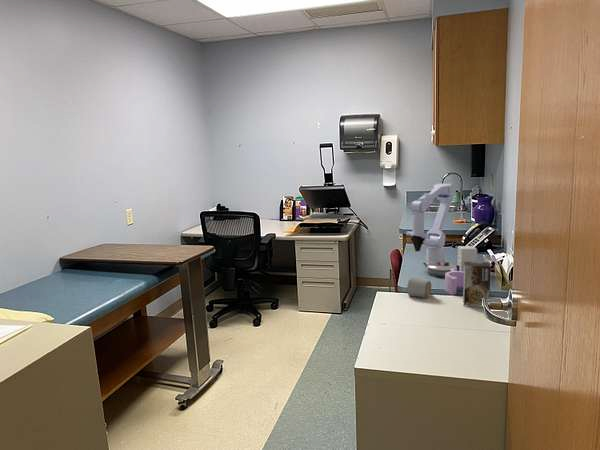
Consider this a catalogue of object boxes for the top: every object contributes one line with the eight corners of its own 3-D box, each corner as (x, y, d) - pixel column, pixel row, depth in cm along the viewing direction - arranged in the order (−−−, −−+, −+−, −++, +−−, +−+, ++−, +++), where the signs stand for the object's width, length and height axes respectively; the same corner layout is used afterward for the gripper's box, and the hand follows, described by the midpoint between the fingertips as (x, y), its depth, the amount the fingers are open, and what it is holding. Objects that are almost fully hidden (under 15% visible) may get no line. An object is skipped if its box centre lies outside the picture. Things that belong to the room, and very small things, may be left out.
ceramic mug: (426, 300, 170) (427, 281, 169) (406, 297, 175) (406, 278, 174) (434, 294, 179) (434, 276, 178) (414, 291, 184) (415, 273, 183)
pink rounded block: (444, 281, 197) (445, 267, 196) (474, 283, 193) (474, 268, 192) (444, 294, 178) (445, 278, 178) (476, 297, 174) (477, 280, 173)
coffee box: (487, 302, 167) (489, 262, 164) (489, 308, 161) (491, 265, 158) (462, 300, 169) (464, 260, 167) (463, 306, 163) (465, 264, 161)
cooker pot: (437, 268, 221) (437, 260, 220) (467, 276, 205) (467, 267, 205) (417, 272, 214) (418, 263, 213) (447, 280, 198) (447, 271, 198)
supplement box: (472, 270, 216) (473, 245, 214) (476, 274, 208) (477, 248, 207) (456, 270, 216) (457, 245, 215) (460, 274, 209) (461, 248, 207)
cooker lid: (440, 262, 218) (440, 259, 218) (462, 268, 206) (462, 264, 206) (421, 266, 211) (421, 262, 211) (442, 272, 200) (443, 268, 199)
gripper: (402, 223, 221) (401, 249, 223) (423, 226, 209) (422, 254, 211) (412, 222, 225) (411, 248, 227) (433, 225, 213) (432, 252, 215)
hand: (417, 251), depth 219 cm, fingers closed
